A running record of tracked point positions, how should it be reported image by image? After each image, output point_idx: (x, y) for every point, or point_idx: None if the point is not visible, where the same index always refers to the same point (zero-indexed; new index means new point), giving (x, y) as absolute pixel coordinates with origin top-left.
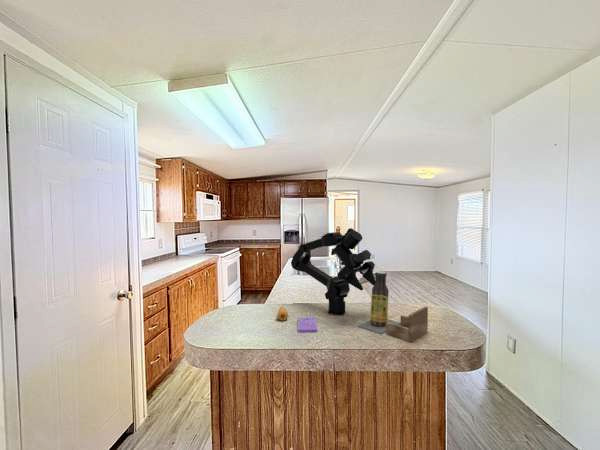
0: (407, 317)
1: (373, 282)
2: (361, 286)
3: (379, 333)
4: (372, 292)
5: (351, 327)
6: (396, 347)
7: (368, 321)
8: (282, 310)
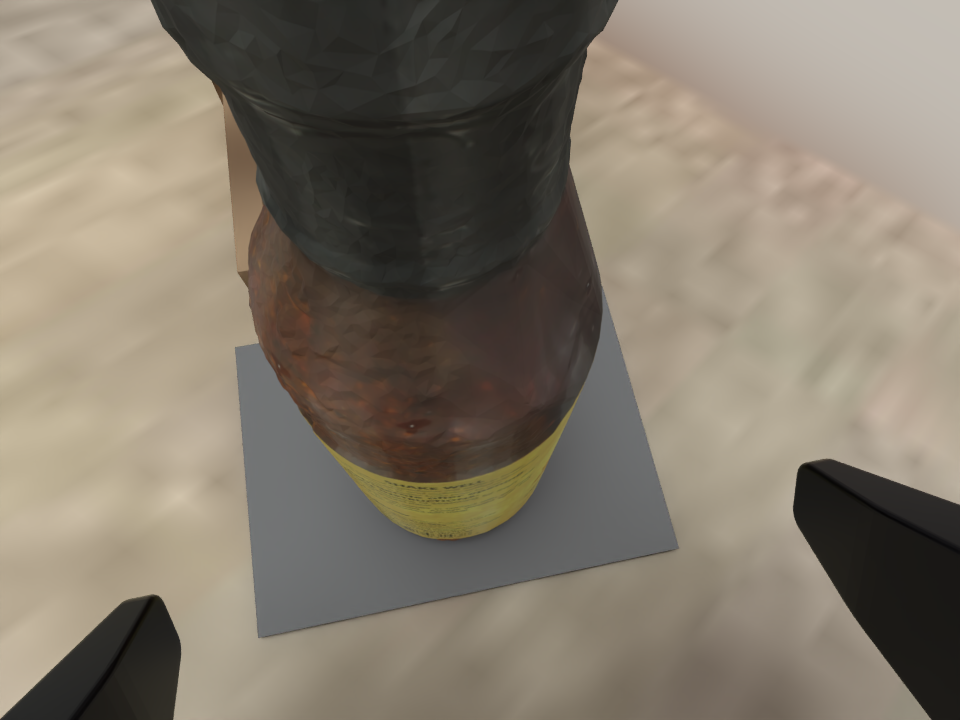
0: (260, 197)
1: (131, 717)
2: (886, 486)
3: (606, 307)
4: (576, 371)
5: (745, 576)
6: (670, 96)
7: (487, 577)
8: None
